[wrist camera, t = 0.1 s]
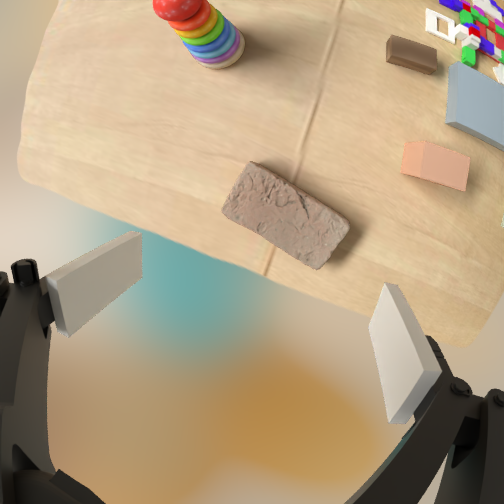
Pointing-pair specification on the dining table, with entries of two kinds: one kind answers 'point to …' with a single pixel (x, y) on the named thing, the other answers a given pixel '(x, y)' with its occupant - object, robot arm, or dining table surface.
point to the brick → (285, 215)
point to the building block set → (473, 30)
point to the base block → (475, 104)
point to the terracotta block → (435, 164)
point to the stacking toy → (203, 31)
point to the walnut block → (411, 55)
